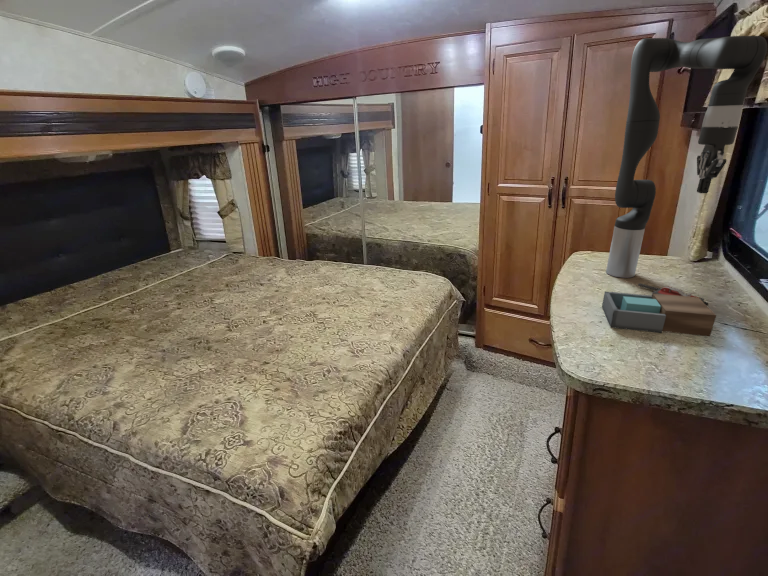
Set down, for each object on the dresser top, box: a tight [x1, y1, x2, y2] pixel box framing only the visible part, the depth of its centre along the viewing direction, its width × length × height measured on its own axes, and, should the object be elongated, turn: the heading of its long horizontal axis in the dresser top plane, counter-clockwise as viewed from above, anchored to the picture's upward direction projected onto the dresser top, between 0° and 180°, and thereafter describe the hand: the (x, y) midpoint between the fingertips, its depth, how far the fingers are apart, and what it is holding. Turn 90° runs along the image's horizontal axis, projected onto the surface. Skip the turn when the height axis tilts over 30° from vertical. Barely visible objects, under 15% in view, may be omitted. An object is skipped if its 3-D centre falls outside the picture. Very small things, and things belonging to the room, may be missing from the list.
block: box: [620, 296, 661, 313], centre depth 113 cm, size 5×5×8 cm
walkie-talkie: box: [638, 282, 709, 306], centre depth 127 cm, size 9×4×20 cm
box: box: [601, 291, 666, 334], centre depth 114 cm, size 14×12×5 cm
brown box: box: [651, 292, 717, 337], centre depth 111 cm, size 12×11×6 cm
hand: (702, 192), depth 113 cm, fingers closed
